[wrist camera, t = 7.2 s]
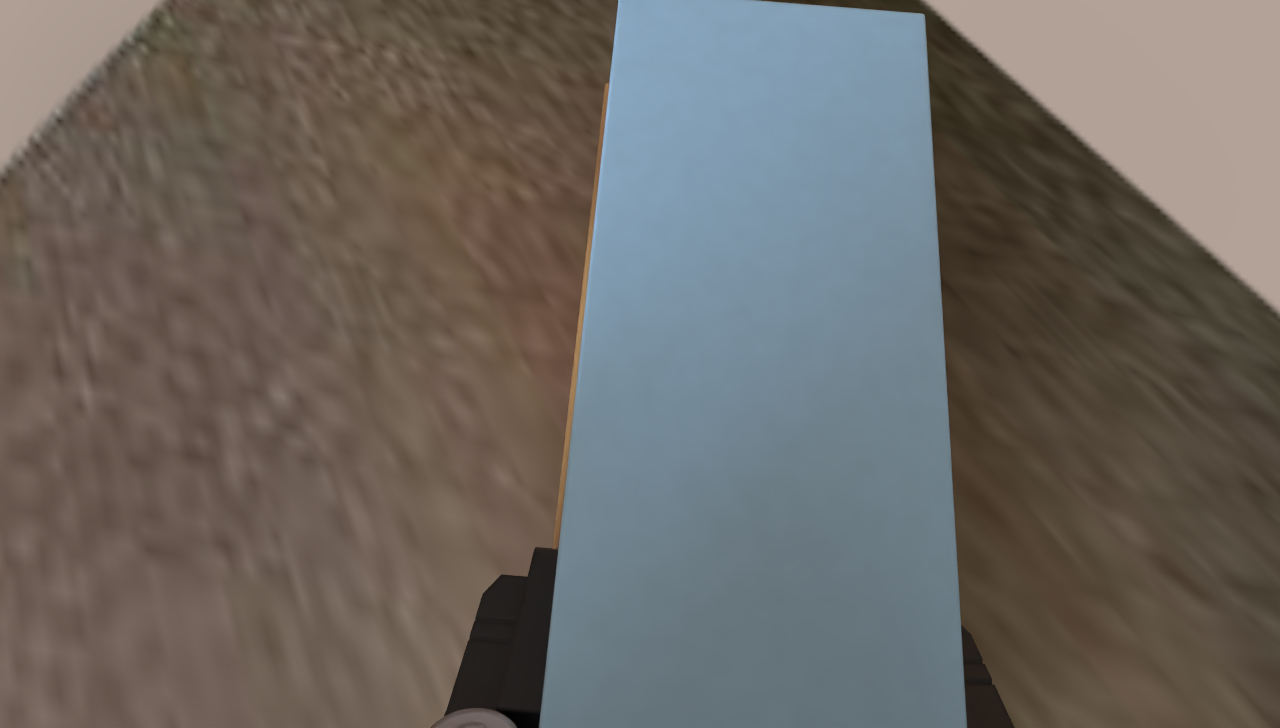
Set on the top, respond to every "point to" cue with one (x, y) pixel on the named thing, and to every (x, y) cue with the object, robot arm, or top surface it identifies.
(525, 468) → the top surface
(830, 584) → the light blue bottle
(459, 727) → the robot arm
